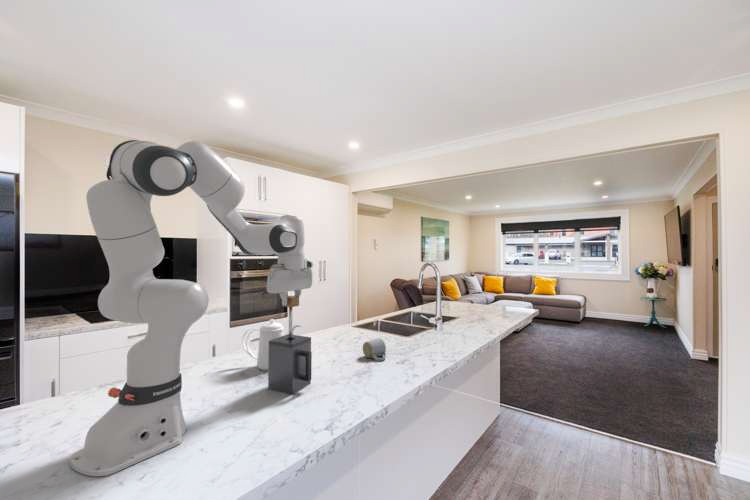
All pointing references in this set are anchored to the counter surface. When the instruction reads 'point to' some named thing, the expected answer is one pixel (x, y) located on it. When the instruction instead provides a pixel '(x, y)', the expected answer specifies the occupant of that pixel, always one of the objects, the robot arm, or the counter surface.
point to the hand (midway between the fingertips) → (290, 303)
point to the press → (289, 364)
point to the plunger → (292, 303)
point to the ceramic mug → (375, 349)
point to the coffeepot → (266, 341)
